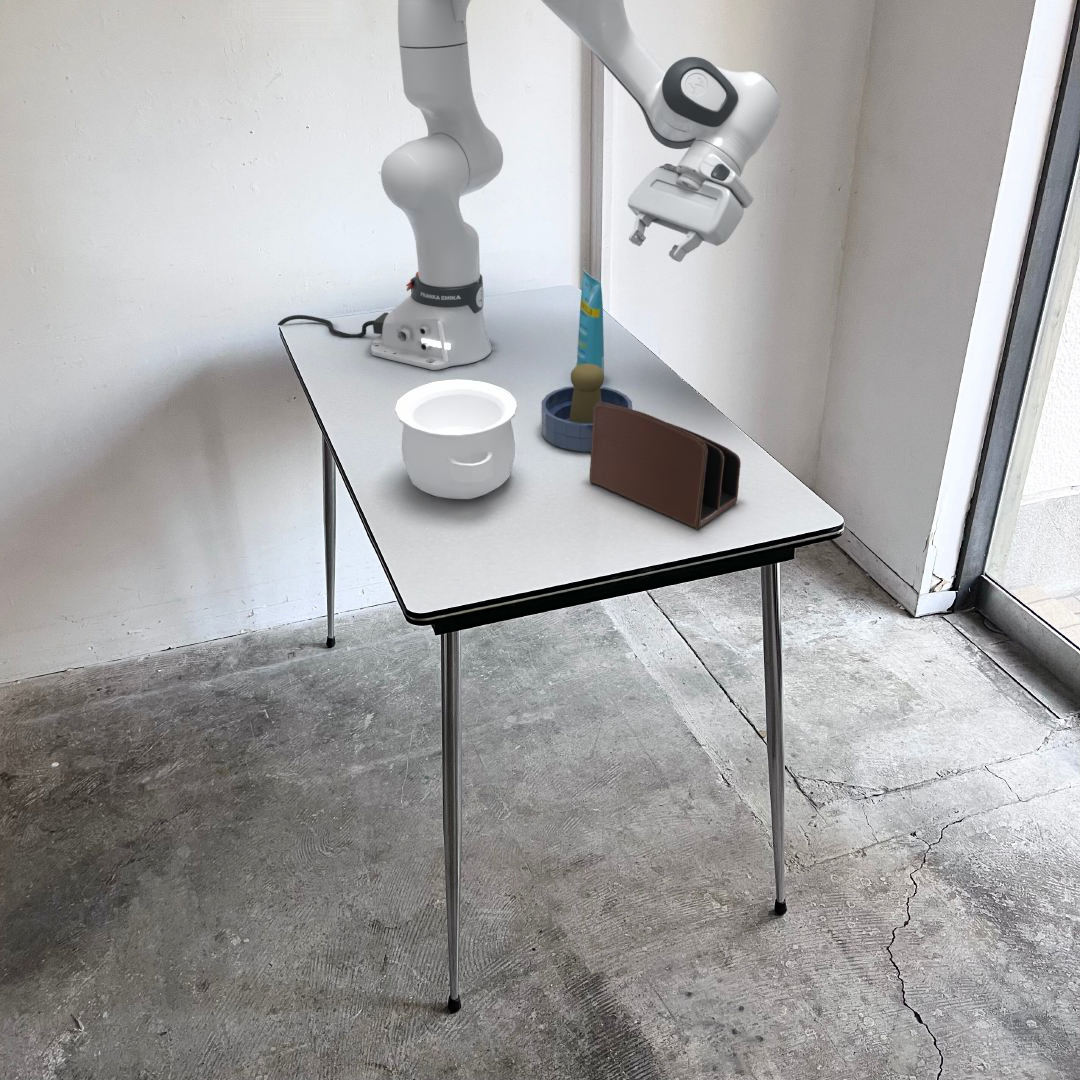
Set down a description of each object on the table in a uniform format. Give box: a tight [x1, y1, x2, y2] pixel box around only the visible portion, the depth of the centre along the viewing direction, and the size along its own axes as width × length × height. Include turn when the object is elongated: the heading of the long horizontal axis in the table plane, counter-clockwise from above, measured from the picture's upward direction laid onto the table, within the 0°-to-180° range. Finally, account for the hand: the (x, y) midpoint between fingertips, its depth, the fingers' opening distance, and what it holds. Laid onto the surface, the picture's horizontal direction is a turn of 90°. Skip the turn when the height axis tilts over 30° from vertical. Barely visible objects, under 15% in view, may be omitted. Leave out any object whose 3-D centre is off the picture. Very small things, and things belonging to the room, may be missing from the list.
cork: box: [569, 364, 605, 423], centre depth 172 cm, size 6×6×11 cm
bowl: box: [540, 385, 634, 452], centre depth 174 cm, size 14×14×5 cm
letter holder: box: [588, 402, 742, 530], centre depth 155 cm, size 10×20×14 cm, turn 48°
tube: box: [576, 268, 605, 374], centre depth 187 cm, size 7×5×19 cm, turn 26°
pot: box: [394, 378, 518, 500], centre depth 159 cm, size 22×17×12 cm
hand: (653, 250), depth 167 cm, fingers open, 8 cm apart
